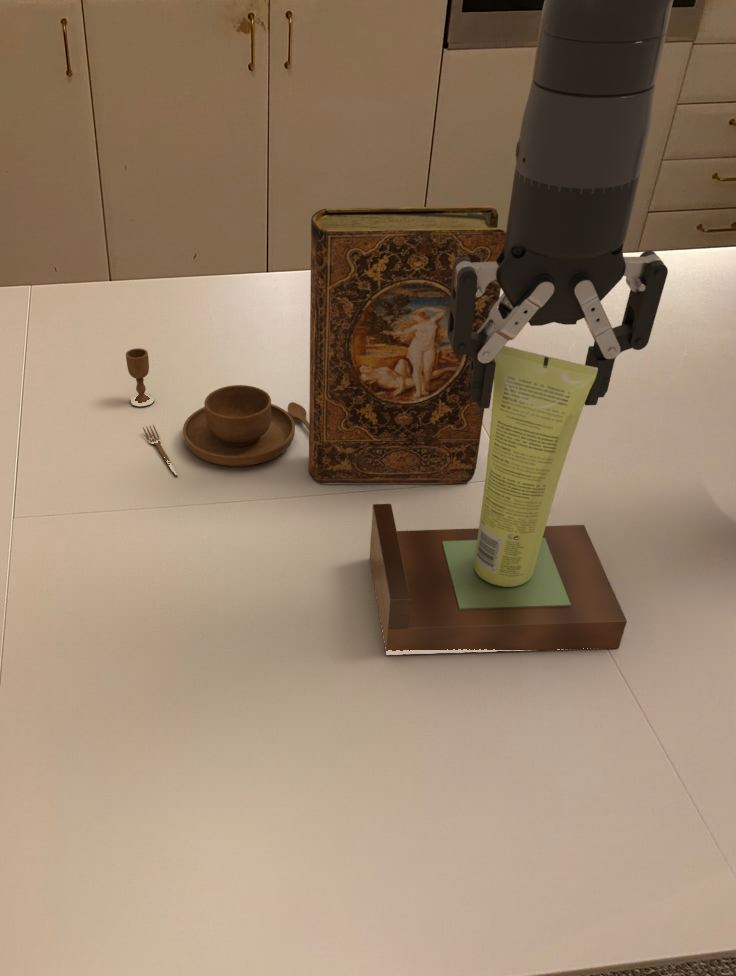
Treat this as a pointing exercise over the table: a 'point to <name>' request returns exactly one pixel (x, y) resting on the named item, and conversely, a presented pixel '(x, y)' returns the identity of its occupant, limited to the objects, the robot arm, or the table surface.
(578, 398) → the tube
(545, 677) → the table surface
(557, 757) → the table surface
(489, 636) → the brown wooden stand
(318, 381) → the book
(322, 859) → the table surface
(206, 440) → the place setting
